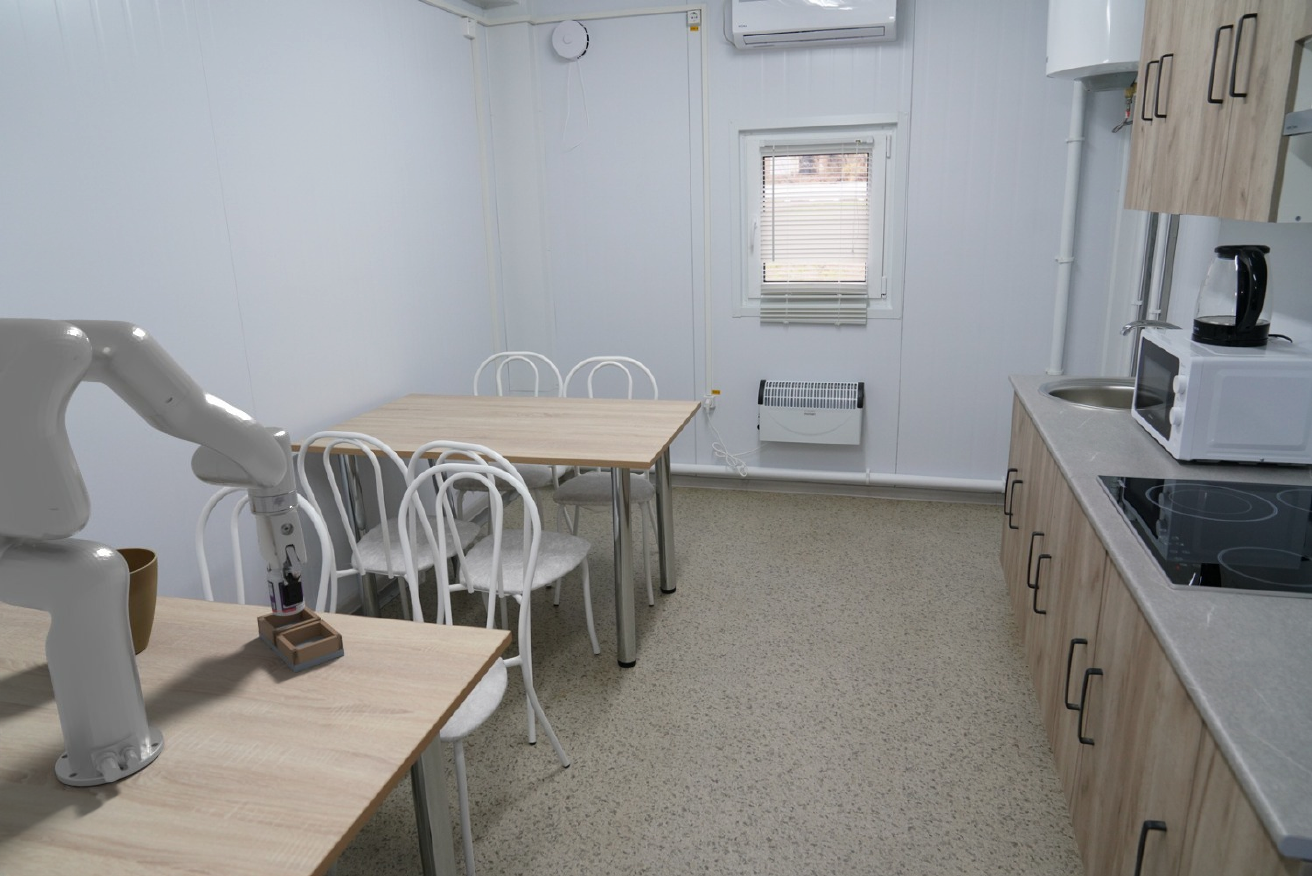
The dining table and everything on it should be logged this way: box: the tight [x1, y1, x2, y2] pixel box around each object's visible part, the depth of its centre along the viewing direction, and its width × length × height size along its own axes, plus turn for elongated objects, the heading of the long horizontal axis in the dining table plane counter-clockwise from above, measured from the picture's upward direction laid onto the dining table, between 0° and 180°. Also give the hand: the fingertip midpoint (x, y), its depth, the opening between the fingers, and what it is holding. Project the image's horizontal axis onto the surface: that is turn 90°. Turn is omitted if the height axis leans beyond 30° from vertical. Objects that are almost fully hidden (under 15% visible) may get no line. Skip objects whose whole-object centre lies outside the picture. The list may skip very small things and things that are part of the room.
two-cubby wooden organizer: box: [256, 604, 345, 673], centre depth 145 cm, size 17×8×4 cm, turn 43°
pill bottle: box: [266, 562, 306, 616], centre depth 147 cm, size 5×5×10 cm
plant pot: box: [114, 547, 159, 655], centre depth 143 cm, size 15×15×16 cm
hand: (286, 597), depth 147 cm, fingers closed on pill bottle, 5 cm apart
